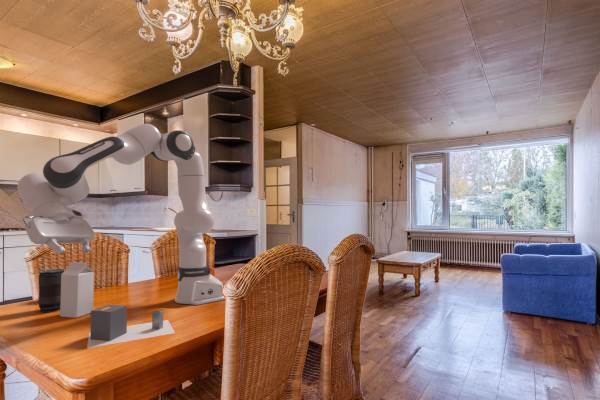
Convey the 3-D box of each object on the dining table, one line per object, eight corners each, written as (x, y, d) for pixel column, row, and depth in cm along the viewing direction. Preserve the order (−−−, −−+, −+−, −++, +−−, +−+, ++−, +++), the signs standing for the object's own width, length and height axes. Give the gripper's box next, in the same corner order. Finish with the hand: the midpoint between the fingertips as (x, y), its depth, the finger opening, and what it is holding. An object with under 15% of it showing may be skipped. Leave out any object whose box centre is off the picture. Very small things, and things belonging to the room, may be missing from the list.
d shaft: (157, 326, 103) (157, 310, 104) (164, 326, 103) (165, 310, 103) (152, 328, 101) (152, 312, 101) (159, 329, 100) (159, 312, 101)
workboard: (167, 324, 109) (167, 319, 110) (175, 338, 97) (175, 332, 97) (89, 336, 98) (89, 331, 98) (86, 354, 86) (86, 348, 86)
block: (107, 331, 99) (108, 303, 99) (126, 333, 97) (127, 304, 98) (90, 339, 92) (91, 309, 93) (109, 341, 91) (110, 310, 92)
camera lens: (47, 307, 130) (48, 269, 130) (68, 306, 130) (69, 268, 131) (32, 313, 122) (33, 272, 122) (55, 313, 122) (56, 272, 123)
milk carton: (76, 318, 116) (78, 264, 117) (59, 317, 117) (61, 263, 118) (93, 312, 123) (94, 261, 124) (77, 311, 124) (78, 260, 125)
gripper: (28, 208, 92) (52, 246, 90) (86, 213, 113) (107, 244, 110) (12, 222, 93) (35, 261, 90) (73, 225, 113) (93, 256, 110)
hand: (75, 252), depth 100 cm, fingers open, 8 cm apart
